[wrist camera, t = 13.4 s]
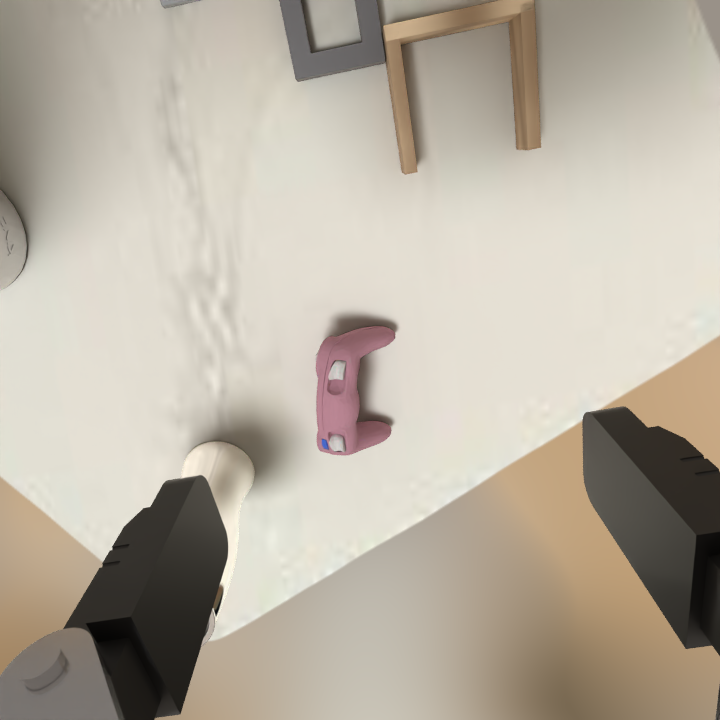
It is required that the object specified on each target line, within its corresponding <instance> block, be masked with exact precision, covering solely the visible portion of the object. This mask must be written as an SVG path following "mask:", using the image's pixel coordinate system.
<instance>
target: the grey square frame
mask: <svg viewBox="0 0 720 720" xmlns="http://www.w3.org/2000/svg"><path fill="white" fill-rule="evenodd" d="M279 1H280V6H281V11H282V15H283V20H284V25H285V30H286V35H287V39H288V44H289V49H290V54H291V59H292V63H293V68H294V73H295V78H296V80H297V81H298V82H299V81H304V80H308V79H313V78H318V77H322V76H327V75H332V74H336V73H341V72H346V71H351V70H355V69H360V68H365V67H369V66H374V65H379V64H383V63H385V54H384V48H383V41H382V34H381V27H380V20H379V13H378V6H377V0H355V4H356V10H357V16H358V23H359V29H360V35H361V41H362V42H361V43H357V44H352V45H347V46H343V47H338V48H334V49H329V50H324V51H320V52H315V53H311V48H310V43H309V38H308V33H307V28H306V23H305V17H304V12H303V7H302V2H301V0H279Z"/></svg>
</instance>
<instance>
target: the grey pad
mask: <svg viewBox="0 0 720 720" xmlns="http://www.w3.org/2000/svg"><path fill="white" fill-rule="evenodd" d="M160 1H161V5H162V6H163V7H164V8H169V7H174V6H178V5H182V4H187V3H191V2H196V1H200V0H160Z"/></svg>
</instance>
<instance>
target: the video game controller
mask: <svg viewBox="0 0 720 720" xmlns="http://www.w3.org/2000/svg"><path fill="white" fill-rule="evenodd" d="M394 339H395V333H394V331H393V330H391V329H389V328H387V327H383V326H372V327H365V328H359V329H355V330H352V331H350V332H347V333H345V334H342V335H339V336H337V337H333V336H329V337H327V338H326V339H325V340H324V341H323V343H322V344H321V346H320V349H319V351H318V353H317V355H316V372H317V376H318V387H317V424H318V433H317V446H318V448H319V450H320V451H322V452H326V453H330V454H333V455H350V454H353V453H356V452H358V451H361V450H363V449H366V448H368V447H371V446H374V445H376V444H379V443H381V442H383V441H385V440H386V439H387V438H388V437H389V436H390V434H391V427H390V426H389V425H387V424H386V423H383V422H380V421H364V422H357V423H356V421H357V418H358V414H359V409H360V403H359V393H358V391H357V376H358V373H359V368H360V358H361V357H363V356H364V355H366V354H368V353H370V352H372V351H374V350H377V349H379V348H382V347H385V346H387V345H388V344H390V343H391V342H392V341H393V340H394Z"/></svg>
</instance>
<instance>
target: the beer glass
mask: <svg viewBox="0 0 720 720" xmlns="http://www.w3.org/2000/svg"><path fill="white" fill-rule="evenodd" d="M198 475H202V476H204V477H205V478H206V479H207V481H208V483H209V486H210V488H211V491H212V494H213V497H214V499H215V502H216V505H217V507H218V510H219V513H220V516H221V518H222V521H223V524H224V526H225V529H226V533H227V538H228V558H227V562H226V566H225V569H224V572H223V576H222V579H221V582H220V585H219V589H218V592H217V595H216V599H215V602H214V605H213V608H212V612H211V615H210V618H209V622H208V625H207V628H206V632H205V635H204V638H203V641H202V645H201V646H203V645H204V644H205V643H206V642H207V641H208V640H209V639H210V637H211V635H212V633H213V631H214V627H215V624H216V621H217V618H218V616H219V613H220V611H221V608H222V606H223V603H224V600H225V598H226V595H227V592H228V589H229V586H230V583H231V580H232V576H233V572H234V568H235V563H236V558H237V550H238V539H239V517H240V508H241V504H242V502H243V500H244V498H245V496H246V495H247V493H248V491H249V490H250V488H251V486H252V484H253V481H254V475H255V472H254V466H253V463H252V461H251V459H250V458H249V457H248V455H247V454H246V453H245V452H244V451H243V450H241V449H240V448H238V447H236V446H234V445H232V444H229V443H226V442H220V441H212V442H206V443H203V444H200V445H198V446H197V447H195V448H194V449H193V450H192V451H191V452H190V453H189V454H188V455H187V457H186V459H185V461H184V464H183V468H182V473H181V478H186V477H192V476H198Z"/></svg>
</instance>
